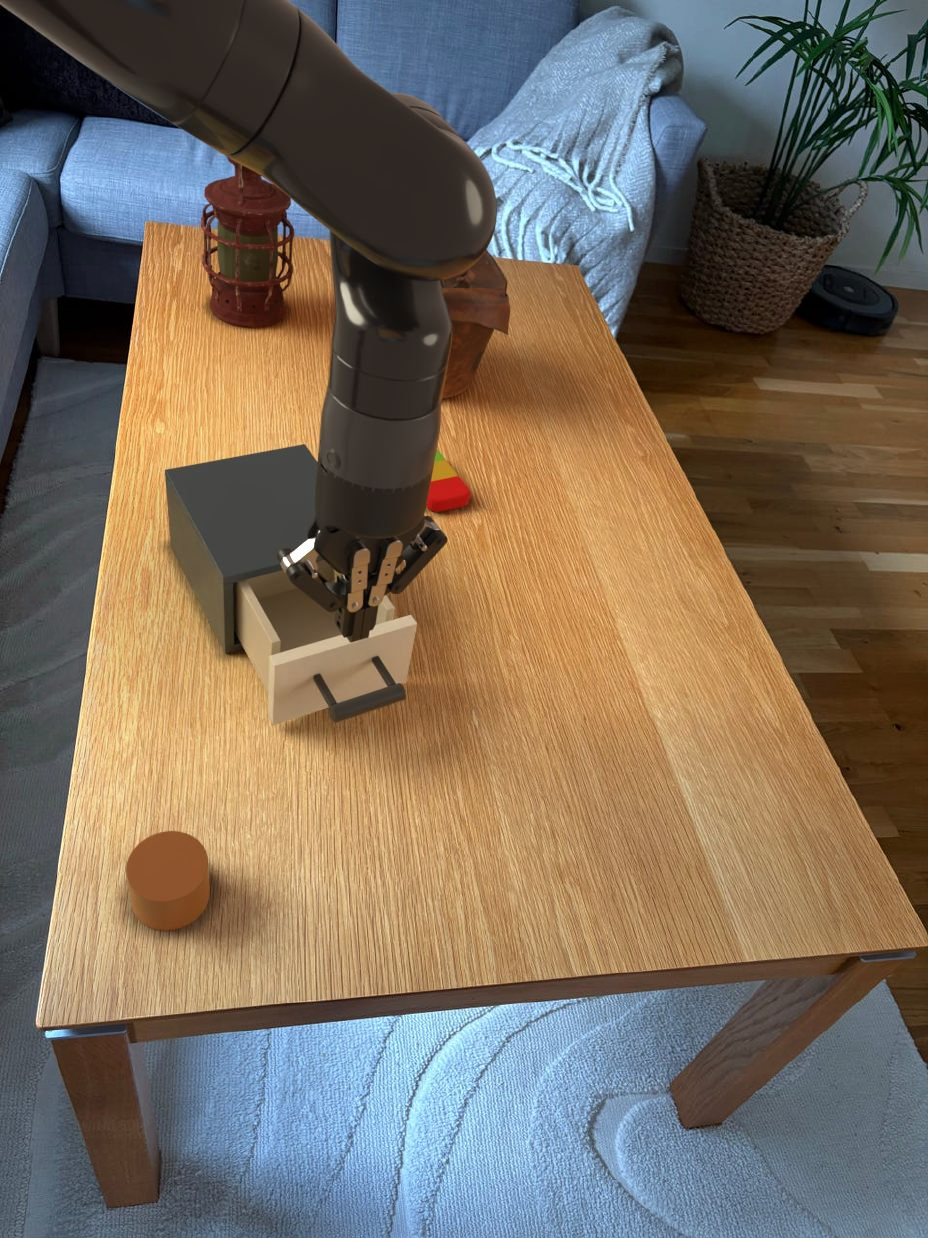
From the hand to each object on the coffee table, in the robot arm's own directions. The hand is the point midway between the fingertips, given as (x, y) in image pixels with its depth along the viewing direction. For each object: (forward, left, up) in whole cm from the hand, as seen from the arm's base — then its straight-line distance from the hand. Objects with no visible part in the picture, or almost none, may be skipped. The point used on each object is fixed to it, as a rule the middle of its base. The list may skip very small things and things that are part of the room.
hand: (353, 632), depth 72 cm
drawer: (+1, +8, -13) cm, 15 cm away
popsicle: (+25, +32, -14) cm, 43 cm away
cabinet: (+1, +21, -14) cm, 25 cm away
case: (+36, +51, -14) cm, 64 cm away
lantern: (+19, +73, -14) cm, 77 cm away
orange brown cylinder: (-18, -8, -14) cm, 24 cm away
